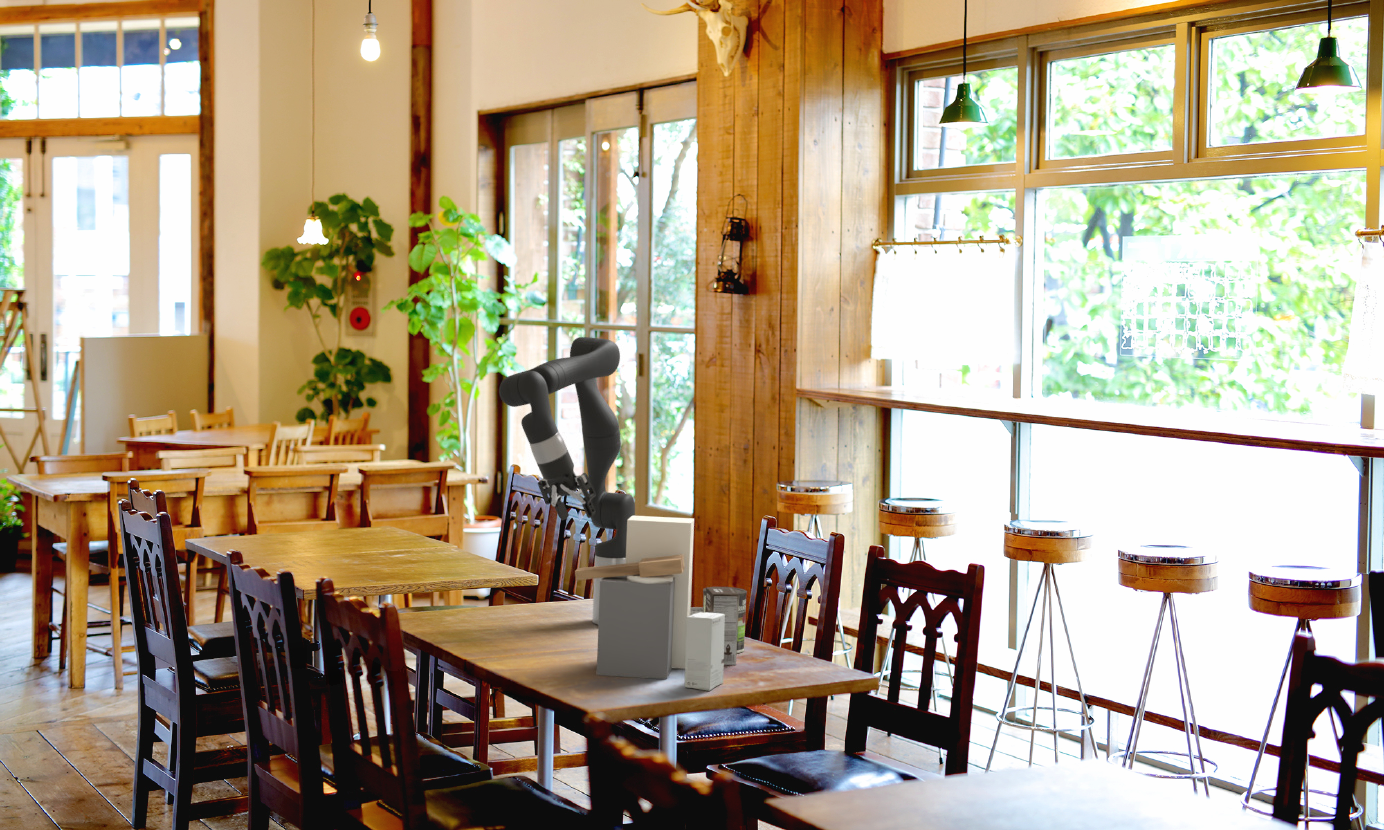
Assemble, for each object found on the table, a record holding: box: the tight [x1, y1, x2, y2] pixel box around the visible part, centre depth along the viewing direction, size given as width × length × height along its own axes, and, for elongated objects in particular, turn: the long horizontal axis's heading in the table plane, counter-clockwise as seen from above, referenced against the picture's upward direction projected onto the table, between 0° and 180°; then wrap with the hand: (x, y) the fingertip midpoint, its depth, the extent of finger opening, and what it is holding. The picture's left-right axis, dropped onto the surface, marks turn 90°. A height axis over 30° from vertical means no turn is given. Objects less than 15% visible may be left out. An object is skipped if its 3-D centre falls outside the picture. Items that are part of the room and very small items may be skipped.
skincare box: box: [684, 612, 725, 692], centre depth 271 cm, size 8×6×15 cm
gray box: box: [596, 574, 675, 680], centre depth 281 cm, size 10×15×21 cm, turn 86°
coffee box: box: [705, 586, 739, 666], centre depth 295 cm, size 9×6×16 cm
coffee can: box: [702, 587, 748, 654], centre depth 307 cm, size 10×10×14 cm
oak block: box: [574, 555, 685, 581], centre depth 280 cm, size 7×23×3 cm, turn 86°
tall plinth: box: [626, 515, 695, 670], centre depth 290 cm, size 9×14×32 cm, turn 86°
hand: (578, 517), depth 298 cm, fingers open, 8 cm apart
